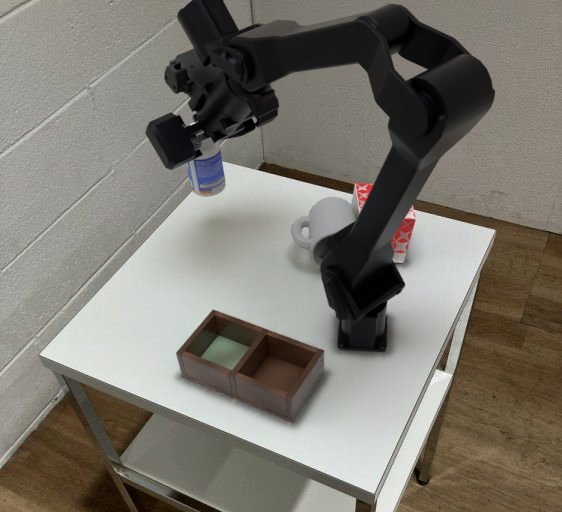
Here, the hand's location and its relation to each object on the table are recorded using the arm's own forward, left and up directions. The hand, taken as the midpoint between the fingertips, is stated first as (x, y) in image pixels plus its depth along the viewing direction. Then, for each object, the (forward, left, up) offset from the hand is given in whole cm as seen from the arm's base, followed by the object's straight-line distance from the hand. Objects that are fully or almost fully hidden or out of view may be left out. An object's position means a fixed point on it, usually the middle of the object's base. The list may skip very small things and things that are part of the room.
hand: (196, 145), depth 94 cm
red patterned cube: (-1, -27, -9) cm, 28 cm away
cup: (-3, -19, -9) cm, 21 cm away
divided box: (-32, -12, -13) cm, 37 cm away
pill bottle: (-1, -1, -7) cm, 7 cm away
